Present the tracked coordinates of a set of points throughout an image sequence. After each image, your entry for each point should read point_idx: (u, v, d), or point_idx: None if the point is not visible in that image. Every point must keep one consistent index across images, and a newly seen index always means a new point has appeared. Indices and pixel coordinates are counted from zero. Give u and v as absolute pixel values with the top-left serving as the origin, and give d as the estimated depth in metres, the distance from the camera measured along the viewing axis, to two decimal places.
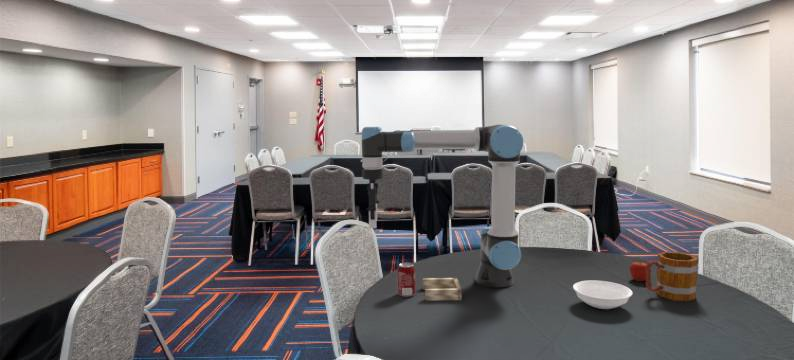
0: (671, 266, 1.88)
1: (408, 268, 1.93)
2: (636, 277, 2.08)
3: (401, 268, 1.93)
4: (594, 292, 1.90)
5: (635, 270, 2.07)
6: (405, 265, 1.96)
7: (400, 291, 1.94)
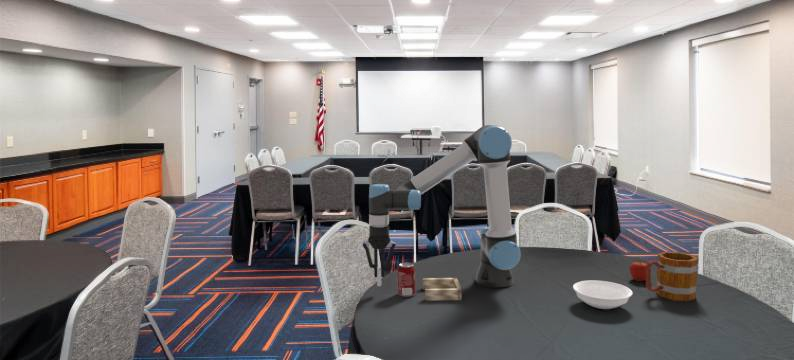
0: (671, 266, 1.88)
1: (408, 268, 1.93)
2: (636, 277, 2.08)
3: (401, 268, 1.93)
4: (594, 292, 1.90)
5: (635, 270, 2.07)
6: (405, 265, 1.96)
7: (400, 291, 1.94)
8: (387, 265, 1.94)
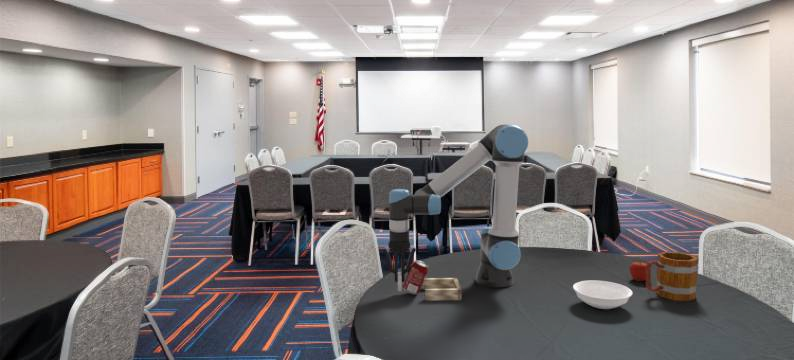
0: (671, 266, 1.88)
1: (423, 267, 1.93)
2: (636, 277, 2.08)
3: (416, 265, 1.93)
4: (594, 292, 1.90)
5: (635, 270, 2.07)
6: (420, 263, 1.96)
7: (406, 285, 1.94)
8: (407, 270, 1.95)
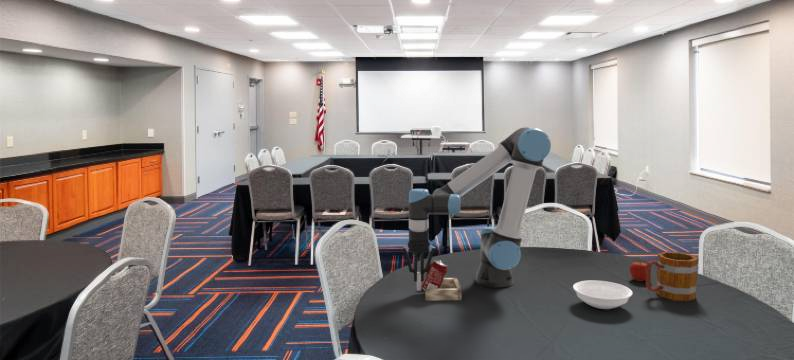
0: (671, 266, 1.88)
1: (442, 267, 1.93)
2: (636, 277, 2.08)
3: (436, 264, 1.93)
4: (594, 292, 1.90)
5: (635, 270, 2.07)
6: (439, 263, 1.96)
7: (426, 285, 1.94)
8: (427, 269, 1.95)
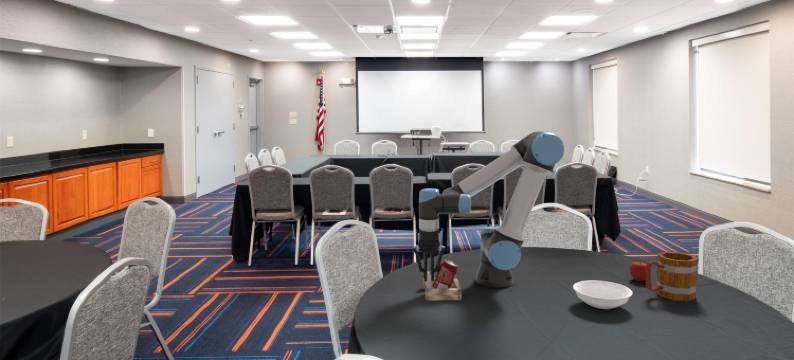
0: (671, 266, 1.88)
1: (453, 267, 1.93)
2: (636, 277, 2.08)
3: (446, 264, 1.94)
4: (594, 292, 1.90)
5: (635, 270, 2.07)
6: (449, 263, 1.96)
7: (436, 285, 1.94)
8: (437, 269, 1.95)
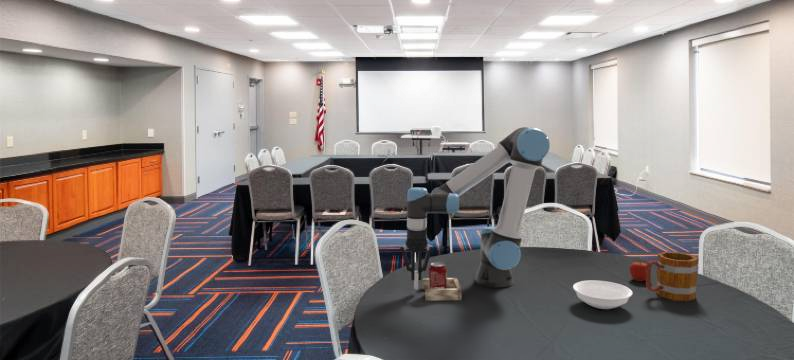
0: (671, 266, 1.88)
1: (440, 267, 1.93)
2: (636, 277, 2.08)
3: (433, 267, 1.93)
4: (594, 292, 1.90)
5: (635, 270, 2.07)
6: (437, 264, 1.96)
7: None
8: (424, 268, 1.95)
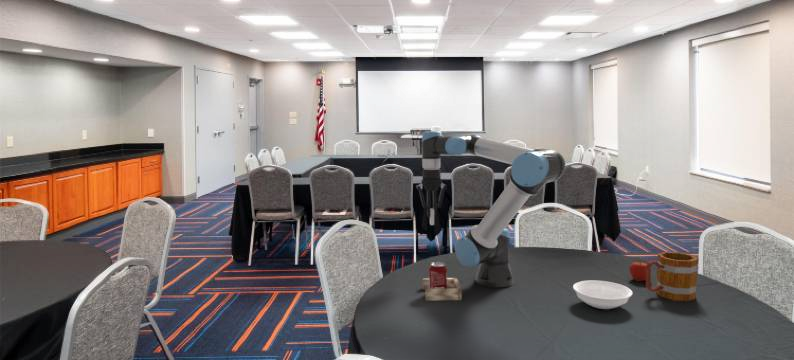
0: (671, 266, 1.88)
1: (440, 267, 1.93)
2: (636, 277, 2.08)
3: (433, 267, 1.93)
4: (594, 292, 1.90)
5: (635, 270, 2.07)
6: (437, 264, 1.96)
7: None
8: (439, 205, 2.12)
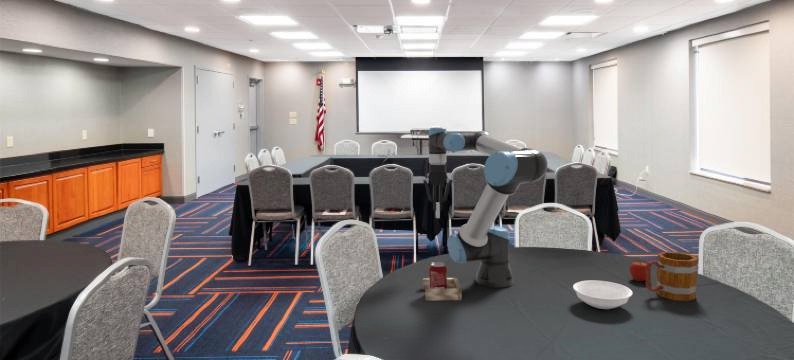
0: (671, 266, 1.88)
1: (440, 267, 1.93)
2: (636, 277, 2.08)
3: (433, 267, 1.93)
4: (594, 292, 1.90)
5: (635, 270, 2.07)
6: (437, 264, 1.96)
7: None
8: (445, 199, 2.20)
